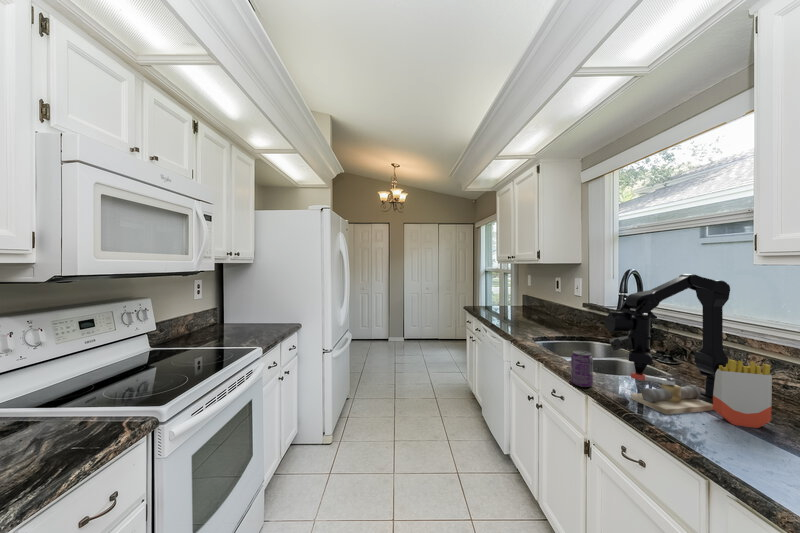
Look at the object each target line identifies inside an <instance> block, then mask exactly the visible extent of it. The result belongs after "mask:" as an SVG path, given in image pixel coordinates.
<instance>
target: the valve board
mask: <svg viewBox="0 0 800 533" xmlns="http://www.w3.org/2000/svg"><path fill="white" fill-rule="evenodd" d="M700 397H701V391H700V390H699V388H698V387H697V386H695V385H693V384H687V385H685V386H679V385H677V384H675V386H670V385H668V384H664V383H661V388H650V387H645V388H643V389H642V390H641V393H640V392H639V393H631V394H630V399H632V400H633V401H635V402H637V403H639V404H642V405H643V406H645V407H646V406H647V407H649V408H651V409H653V410H655V411H657V412H660V413H661V414H665V415H676V414H677V415H678V414H686V413H696V412H708V411H709V412H710V411H715V410H714V409H713V403H710V402H708V401H704V400H702V399H700Z"/></svg>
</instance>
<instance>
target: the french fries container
mask: <svg viewBox="0 0 800 533" xmlns="http://www.w3.org/2000/svg"><path fill="white" fill-rule="evenodd" d="M743 363H744V362H743V360H734V359H730V358H729V359H728V364H727V363H726V367H723V366H722V365H719V369H717V371H716V373H715V382H714V391H713V398H712V405H713V409H714V410H713V411H715V413H717V414H718V415H719V416H721V417H722V418H723V419H724V420H726V421H727V422H729V423H730V424H732V425H733V426H738V427H745V428H755V429H756V428H757V429H759V428H761V427H762V426H764V425H766V424H768V423H769V422H772V401H773V400H772V399H773V398H772V396H773V395H772V393H773V392H772V391H773V390H772V387H773V386H772V384H773V376H772V374H770V373H771V365H770V364H766V363H763V364H762V366H761V365H757V364H756V362H755V361H751V360H750V363H749V364H750V365H749V366H747V365H746V366H745V365H744V364H743ZM761 368H762V369H761Z"/></svg>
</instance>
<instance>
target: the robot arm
mask: <svg viewBox="0 0 800 533" xmlns="http://www.w3.org/2000/svg"><path fill="white" fill-rule="evenodd" d="M688 289H690V290H692V291H695V294H696V298H697V299H698V301H699V303H700V304H701V305H702V347H701V348H700V349H699V351H698V350H697V351H694V360H693V363H694V364H695V367H696V368H697V369H698V370H699V374H700V375H701V376H705V384H704V385H705V386H704V388H705V389H704V391H700V395H703V396H705V397H706V396H707V397H710V398H712V399H713V391H714V382H715V373H716V371H717V369H719V365H722V366H723V367H726V363H727V364H728V359H729V360H730V358H729V357H728V356H727V353H726V352H725V351H724V347H723V342H724V341H723V339H724V337H723V331H724V330H723V325H724V324H723V316H724V315H723V314H724V313H723V308H724V306H725V305H726V303H727V302H728V301H729V299H730V293H731V286H730V284H729V283H727V282H726V281H724V280H720V279H719V280H718V279H711V278H708V277H707V278H706V277H703V276H700V275H697V274H694V273H682V274H680V275H679V276H677V277H675V278H673V279H671V280H669V281H667V282H665V283H663V284H659V285H658V286H656V287H654V288H651V289H649V290H644V291H643V290H642V291H638V292H635V293H631V294H629V295H627V297H626V300H625V302H623V304H622V305H621V307H620V308H619V310H618V311H611V310H610V311H608V314H607V316H606V317H605V319H604V327H605V328H606V330H607V331H608V332H610V333H612V332H613V333H614V332H615V333H617V332H619V333H620V332H627V335H625V336H619V337H613V338H610V339H609V343H610V347H611V350H612V351H618V350H622V349H627V350H628V353H627V354H628V357H627V358H628V362H629V363H630V362H631V363H633V364H634V370H635V373H641V374H644V371H645V370H646V368H647V367H648V365H653V355H652V354H651V353H650V352H651V347H650V345H651V344H650V343H651V319H652V320H653V319H655V320H656V319H658V316H657V315H655V314H654V313H653V310H654V309H656V308H657V307H658V306H659V305H660V303H661V302H662V301H665V300H666V299H668V298H671V297H672V296H675V295H677V294H678V293H682V292H684V291H685V290H688ZM629 350H630V351H629Z"/></svg>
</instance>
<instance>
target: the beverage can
mask: <svg viewBox="0 0 800 533" xmlns="http://www.w3.org/2000/svg"><path fill="white" fill-rule="evenodd" d="M570 359H571V360H570V382H571V383H572V384H573V385H575V386H577V387H581V388H589V387H591V386H593V384H594V382H593V381H594V358H593V356H592V353H591V352H590V351H586V350H573V351H572V354H571V357H570Z"/></svg>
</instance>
